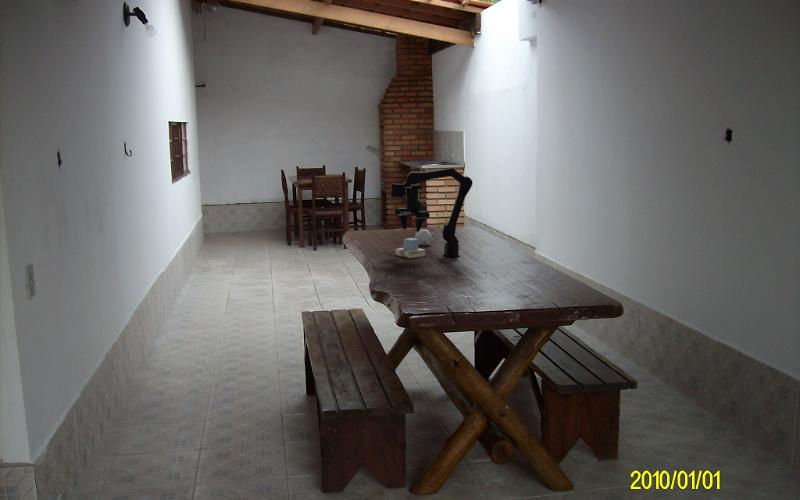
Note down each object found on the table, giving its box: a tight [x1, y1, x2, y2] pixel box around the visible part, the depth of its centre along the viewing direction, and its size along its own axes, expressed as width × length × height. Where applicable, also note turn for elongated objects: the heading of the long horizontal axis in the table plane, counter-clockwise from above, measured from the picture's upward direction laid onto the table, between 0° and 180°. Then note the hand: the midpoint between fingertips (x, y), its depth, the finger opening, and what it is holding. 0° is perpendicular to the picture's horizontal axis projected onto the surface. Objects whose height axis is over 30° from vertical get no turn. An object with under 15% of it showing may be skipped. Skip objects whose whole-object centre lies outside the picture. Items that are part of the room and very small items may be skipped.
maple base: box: [395, 247, 426, 259], centre depth 352 cm, size 10×10×3 cm
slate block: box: [403, 237, 419, 250], centre depth 351 cm, size 5×5×5 cm
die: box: [414, 228, 433, 246], centre depth 383 cm, size 8×9×10 cm
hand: (411, 230), depth 350 cm, fingers open, 9 cm apart
